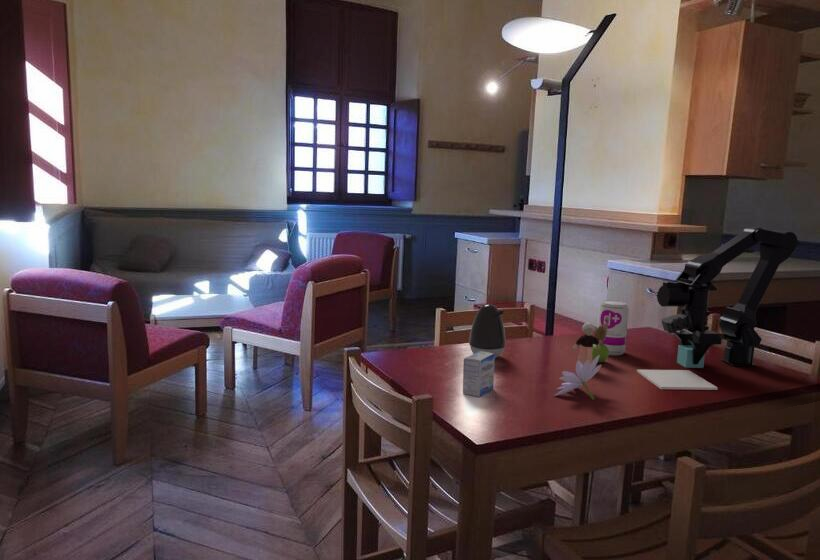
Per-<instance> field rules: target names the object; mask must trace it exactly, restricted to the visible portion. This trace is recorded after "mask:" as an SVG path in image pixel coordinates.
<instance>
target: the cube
mask: <svg viewBox="0 0 820 560" xmlns="http://www.w3.org/2000/svg"><path fill="white" fill-rule="evenodd" d="M705 355H706V353H705V354H704V356H703V357H702V359H701V360H700V361H699V363H698V364H693V346H692V345H680V344H678V347H677V356H676V363H677V364H679V365H680V366H682V367H684V368H687V369H689V368H690V369H691V368H692V369H697V368H698V369H704V366H705V358H706V356H705Z"/></svg>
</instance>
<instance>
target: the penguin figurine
mask: <svg viewBox="0 0 820 560" xmlns="http://www.w3.org/2000/svg"><path fill="white" fill-rule="evenodd" d="M504 311H505V310H504V309H498V307H497V306H496V305H493V304H491V303H486V304H483V305H481V307H480V308H479V309H478V310H477V313H476V315H475V316H474V319H473V321H472V325H471V329H470V333H469V339H468V345H469V347H470V350H471V353H472V354H474V353H476V352H478V351H483V352H489V353H493V354H495V359H497V358H499V357H500V356H501V355H502V354H503V352H504V350H505V347H506V346H507V344H506V343H507V342H506V340H507V339H506V331H505V325H504V322H503V318H502V315H503V314H504V313H505V312H504Z"/></svg>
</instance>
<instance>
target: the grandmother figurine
mask: <svg viewBox="0 0 820 560" xmlns="http://www.w3.org/2000/svg"><path fill="white" fill-rule="evenodd" d="M581 328H582V329H581V330H582V331H583V333H584V334H583V335H580V337H579V338H578V339H577V340H576V342H575V344H574V345H573V347H572V350H573V351H577V349H578V347H579V346H580V349H579V354H578V357H577V361H578V360H579V361H580V362H581V363H582V365H584V363H585V362H586V361H587V360H589V361H590V365H591V363H592V362H593V360H592V353H593V344H595V345H596V346H597V349H600V348H601V346H600V344H599V341H598V339H597V338H596V337H594V333H595V330H596V326H595V325H594V324H593V322H592V323H591V322H590V321H588V322H585V323H584V324H583V326H582V327H581Z"/></svg>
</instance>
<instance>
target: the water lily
mask: <svg viewBox="0 0 820 560" xmlns="http://www.w3.org/2000/svg"><path fill="white" fill-rule="evenodd" d="M599 356H600V355H598V356H597V357H596V358H595V359H594V360H592V363H591V365H590V361H589V360H587V361H586V362H585V363H584V365H582V363H581V362H580V361H579V360H578V359H577V361H576V364H575V372H571V371H564V370H563V371H562V372H561V374H562V376H561V377H559V380H562V381H564V382H562V383H561V386H559V387H557V388H556V390H560V391H558V392H557V393H555V394H554V395H553V396H554V397H557V396H561V395H564V394H566V393H568V392H569V393H570V392H571V391H573V390H574V389H579V388H581V387H584V388H585V390H586V392H587V393H588V395H589V397H590V399H591V400H592V401H593V400H595V397H594V396H593V393H592V391H591V390H590V389H589V388H588V385H587V384H586V382H588V381H590V380H591V379H592V378H593V377H595V375H596V374H597V373H598V372H599V370H600V369H601V367H602V364H599V365H598V366H597V364H598V363H599V362H598V359H599Z"/></svg>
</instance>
